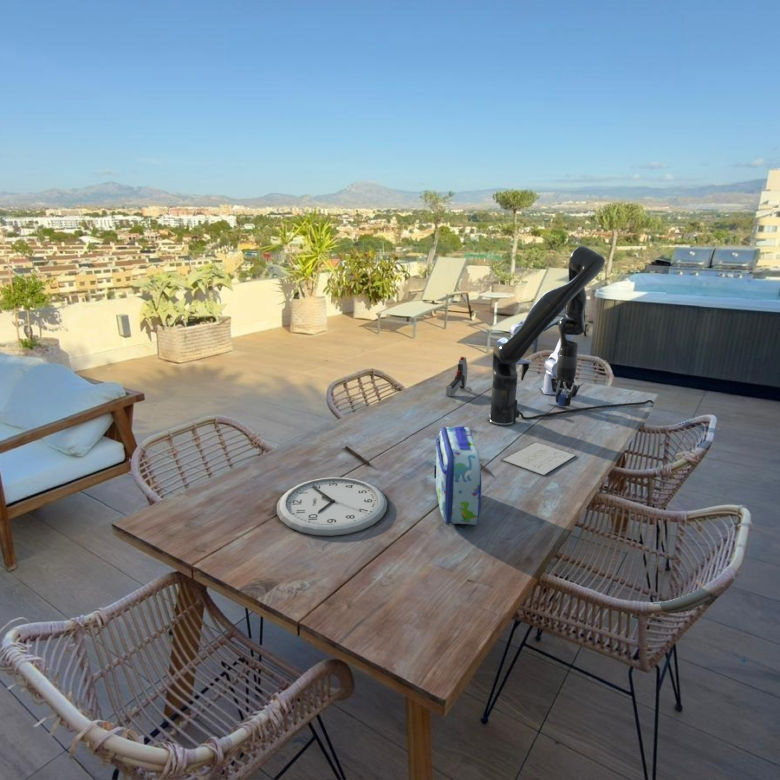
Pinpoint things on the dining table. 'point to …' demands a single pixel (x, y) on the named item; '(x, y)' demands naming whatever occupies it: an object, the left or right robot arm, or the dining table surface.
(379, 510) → the wall clock
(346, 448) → the thin brown stick
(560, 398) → the can
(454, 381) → the toy gun
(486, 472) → the fork
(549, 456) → the invitation card
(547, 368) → the right robot arm
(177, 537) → the dining table surface
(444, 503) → the lunch box
